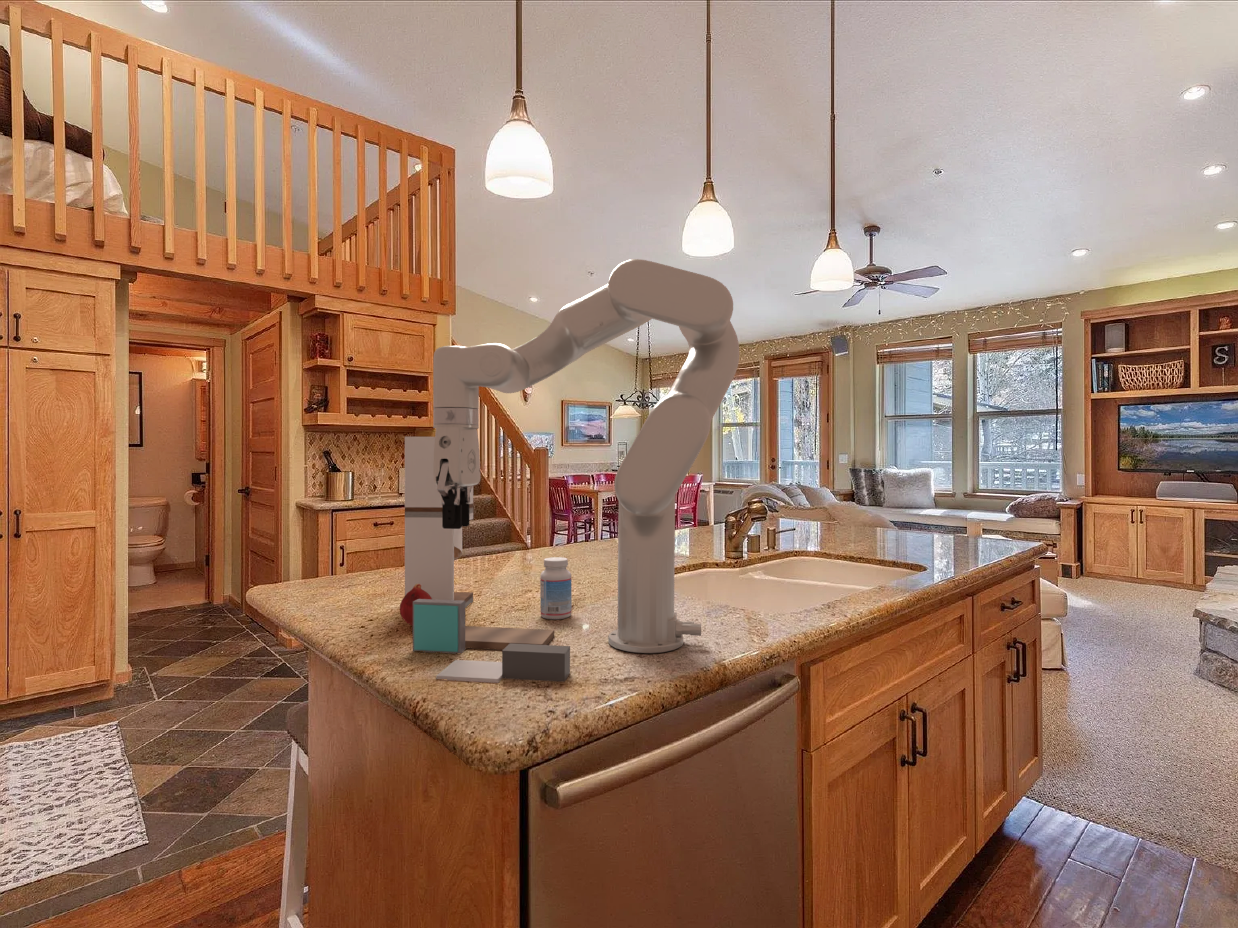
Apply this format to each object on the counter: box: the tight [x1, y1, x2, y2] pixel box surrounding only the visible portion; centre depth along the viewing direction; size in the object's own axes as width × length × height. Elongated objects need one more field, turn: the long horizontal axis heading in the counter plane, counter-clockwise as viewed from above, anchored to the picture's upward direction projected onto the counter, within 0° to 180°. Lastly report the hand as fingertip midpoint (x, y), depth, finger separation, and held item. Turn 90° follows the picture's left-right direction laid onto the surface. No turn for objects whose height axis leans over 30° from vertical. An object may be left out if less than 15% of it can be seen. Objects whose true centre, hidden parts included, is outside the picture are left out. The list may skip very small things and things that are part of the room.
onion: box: [399, 583, 432, 627], centre depth 115 cm, size 6×6×8 cm
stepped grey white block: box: [435, 643, 571, 684], centre depth 91 cm, size 18×7×4 cm, turn 82°
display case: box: [404, 436, 474, 609], centre depth 130 cm, size 11×11×35 cm
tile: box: [412, 599, 466, 654], centre depth 102 cm, size 8×2×8 cm, turn 82°
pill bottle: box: [539, 556, 573, 620], centre depth 124 cm, size 6×6×11 cm
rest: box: [465, 625, 555, 651], centre depth 107 cm, size 18×8×1 cm, turn 82°
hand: (456, 526), depth 108 cm, fingers open, 2 cm apart
